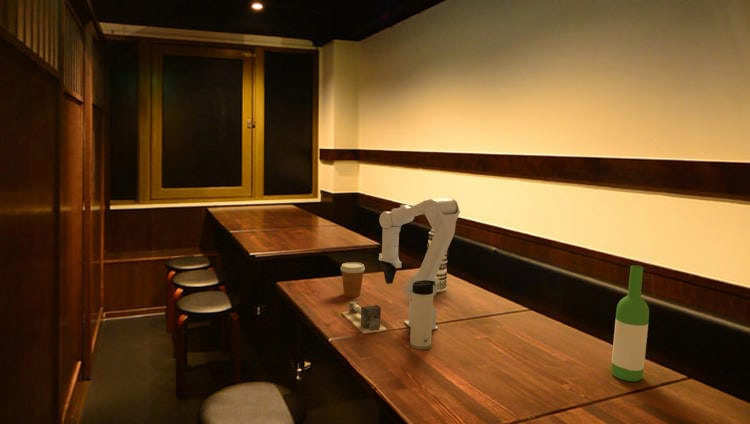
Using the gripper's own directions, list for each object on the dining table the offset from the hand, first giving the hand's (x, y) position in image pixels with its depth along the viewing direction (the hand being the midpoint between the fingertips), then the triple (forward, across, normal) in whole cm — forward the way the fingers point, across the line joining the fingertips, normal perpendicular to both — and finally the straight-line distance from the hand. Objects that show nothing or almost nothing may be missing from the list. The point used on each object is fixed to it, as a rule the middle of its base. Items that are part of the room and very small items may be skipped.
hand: (389, 283), depth 187 cm
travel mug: (+11, +32, -4) cm, 34 cm away
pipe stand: (+10, +7, -12) cm, 18 cm away
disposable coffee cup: (+11, -23, -5) cm, 26 cm away
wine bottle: (+11, +69, +38) cm, 79 cm away
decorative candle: (+11, -20, +31) cm, 38 cm away
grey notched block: (+10, +13, -12) cm, 21 cm away
